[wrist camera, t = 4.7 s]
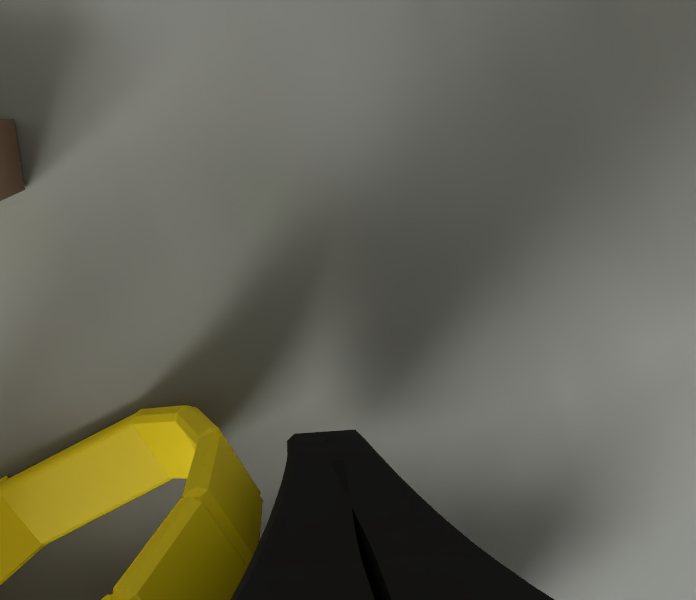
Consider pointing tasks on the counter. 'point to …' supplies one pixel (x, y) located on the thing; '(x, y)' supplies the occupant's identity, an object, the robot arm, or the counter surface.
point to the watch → (133, 481)
